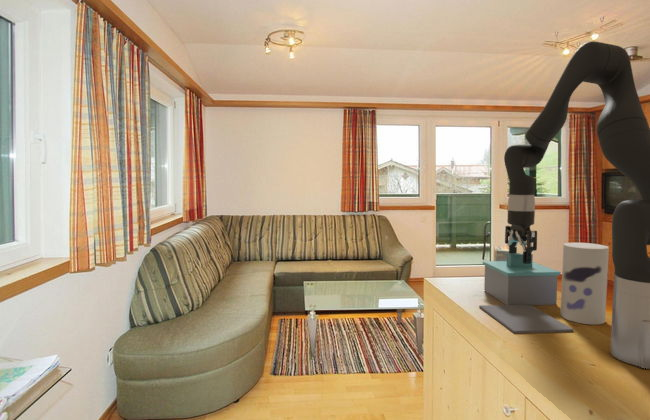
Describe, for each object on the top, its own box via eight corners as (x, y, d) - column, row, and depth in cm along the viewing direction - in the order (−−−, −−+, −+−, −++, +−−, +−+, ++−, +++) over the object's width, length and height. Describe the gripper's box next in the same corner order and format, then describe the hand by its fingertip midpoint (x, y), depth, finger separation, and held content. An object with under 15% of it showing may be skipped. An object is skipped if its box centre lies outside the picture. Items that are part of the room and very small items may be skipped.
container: (561, 321, 102) (565, 246, 100) (559, 309, 111) (562, 240, 109) (608, 327, 97) (612, 249, 96) (601, 315, 106) (605, 243, 104)
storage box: (556, 304, 115) (557, 274, 115) (507, 305, 115) (508, 275, 114) (527, 290, 130) (528, 263, 130) (484, 291, 130) (484, 264, 129)
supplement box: (492, 281, 142) (493, 245, 141) (506, 282, 141) (507, 246, 139) (494, 286, 134) (495, 249, 133) (509, 288, 133) (510, 250, 132)
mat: (573, 331, 95) (573, 329, 95) (514, 333, 94) (514, 330, 94) (529, 306, 114) (529, 304, 114) (479, 307, 113) (479, 305, 113)
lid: (560, 279, 114) (561, 258, 114) (507, 280, 113) (508, 259, 113) (529, 266, 130) (529, 248, 130) (482, 267, 129) (483, 249, 129)
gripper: (547, 210, 113) (544, 265, 115) (520, 207, 127) (518, 256, 129) (522, 211, 113) (520, 266, 114) (498, 207, 127) (496, 256, 128)
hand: (519, 260), depth 121 cm, fingers open, 7 cm apart
